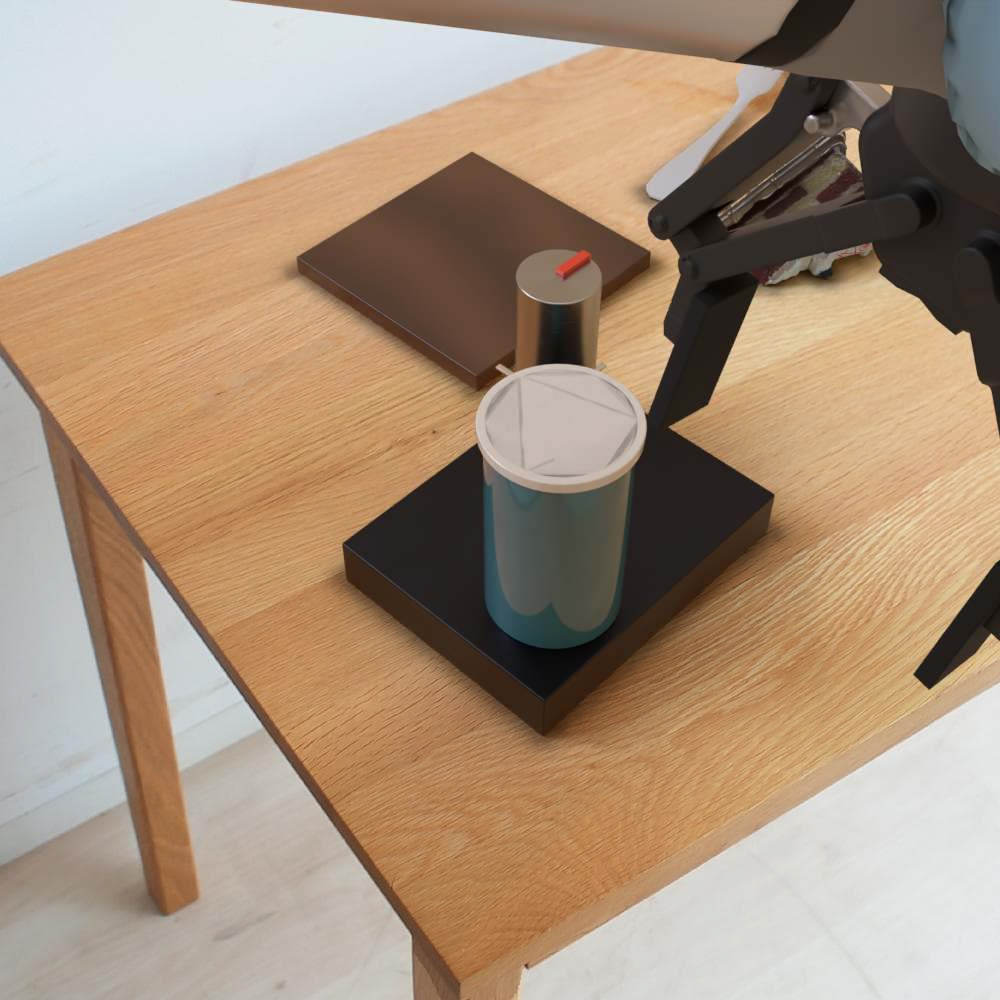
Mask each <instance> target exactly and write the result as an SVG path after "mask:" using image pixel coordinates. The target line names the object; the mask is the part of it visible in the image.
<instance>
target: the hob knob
mask: <svg viewBox="0 0 1000 1000" xmlns="http://www.w3.org/2000/svg"><path fill="white" fill-rule="evenodd" d="M601 288H602V274H601V271H600V269H599V267H598V266H597V264H596V263H595V262H594V261H593V260H591V254H589V253H588V252H586V251H584V250H582V251H581V252H579V253H578V252H574V251H570V250H562V249H554V250H546V251H541V252H538V253H535V254H533V255H531V256H529V257H528V258H526V259H525V260H524V261H523V262H522V263H521V264H520V266H519V267H518V269H517V272H516V300H515V363H514V373H515V372H518V371H520V370H523V369H526V368H530V367H534V366H540V365H546V364H570V365H578V366H583V367H588V368H591V369H594V370H596V366H597V359H598V357H597V356H598V345H599V343H598V342H599V330H600V318H601V317H600V316H601V302H602V301H601Z"/></svg>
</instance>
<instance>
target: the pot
mask: <svg viewBox="0 0 1000 1000" xmlns="http://www.w3.org/2000/svg"><path fill="white" fill-rule="evenodd" d="M644 412H645V411H644V408H643V406H642V404H641V402H640V401H639V399H638V397H637V396H636V395H635V394H634V393H633V392H632V390H630V388H629V387H627V385H625V384H624V383H623V382H621V381H619V380H618V379H617V378H615V377H612V376H611V375H609V374H607V373H605V372H603V371H598V370H594V369H591V368H588V367H583V366H578V365H570V364H546V365H540V366H534V367H530V368H526V369H523V370H520V371H518V372H515V371H514V373H513V374H511V375H509V376H505V377H504V378H502V379H501V380H499V381H498V382H497V383H495V384H494V385H493V386H491V388H490V389H488V391H487V392H486V394H485V395H484V397H483V398H482V399H481V401H480V403H479V405H478V407H477V411H476V415H475V424H474V425H475V437H476V443H478V446H479V449H480V451H481V453H482V455H483V533H484V598H485V603H486V607H487V610H488V612H489V614H490V616H491V617H492V619H493V620H494V622H495V623H496V624H497V625H498V626H499V627H500V628H501V629H502V630H503V631H504V632H505V633H506V634H508V635H509V636H511V637H512V638H514V639H516V640H518V641H520V642H522V643H525V644H528V645H531V646H535V647H539V648H546V649H564V648H570V647H575V646H579V645H582V644H585V643H587V642H589V641H591V640H593V639H595V638H597V637H598V636H600V635H601V634H602V633H603V632H605V631H606V630H607V629H608V628H609V627H610V626H611V624H612V623H613V622H614V620H615V619H616V617H617V615H618V613H619V610H620V607H621V602H622V594H623V585H624V575H625V566H626V556H627V547H628V537H629V527H630V518H631V508H632V499H633V489H634V480H635V470H636V462H637V460H638V459H639V457H640V455H641V453H642V451H643V448H644V445H645V440H646V432H647V421H646V417H645V413H646V412H645V413H644Z"/></svg>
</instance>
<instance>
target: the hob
mask: <svg viewBox="0 0 1000 1000" xmlns="http://www.w3.org/2000/svg"><path fill="white" fill-rule="evenodd" d="M607 366H608V365H607V364H606V363H604V361H601V362H600V363H599V364H598V365H597V364H596V370H598V371H600V372H603V370H605V369H606V368H607ZM496 369H497V370H499V371H500V372H502V373H501V374H503V375H505V377H507V376H509V375H511V374H513V373H515V371H513V370H511V369H509V368H506V367H504V366H503V365H501V364H499V365H497V366H496ZM644 413H645V417H646V418H647V415H648V413H647V412H646V411H644ZM646 421H647V420H646ZM775 498H776V494H775V493H773V492H772V491H770V490H769V489H767V488H765V487H764V486H762V485H761V484H759V483H758V482H756V481H754V480H753V479H752V478H750V477H748V476H747V475H745V474H743V473H741V472H740V471H739V470H737V469H736V468H735V467H732V466H730V465H729V464H728V463H726V462H724V461H723V460H721V459H719V458H718V457H716V456H715V455H713V454H712V453H710V452H708V451H707V450H705V449H704V448H702V447H700V446H699V445H697V444H695V443H694V442H693V441H691V440H689V439H688V438H686V437H684V436H683V435H681V434H680V433H678V432H677V431H675V430H673V429H672V428H670V427H668V428H666V429H664V430H662V431H661V432H659V431H658V430H657V429H656V428H654V427H653V426H652V425H651V424H650V423H649V422H648V421H647V432H646V440H645V445H644V448H643V451H642V453H641V455H640V457H639V459H638V460H637V462H636V470H635V480H634V489H633V499H632V508H631V518H630V527H629V537H628V547H627V556H626V566H625V575H624V585H623V594H622V602H621V607H620V610H619V613H618V615H617V617H616V619H615V620H614V622H613V623H612V624H611V626H610V627H609V628H608V629H607V630H606V631H605V632H603V633H602V634H601V635H600V636H598V637H597V638H595V639H593V640H591V641H589V642H587V643H585V644H582V645H579V646H575V647H570V648H564V649H546V648H539V647H535V646H531V645H528V644H525V643H522V642H520V641H518V640H516V639H514V638H512V637H511V636H509V635H508V634H506V633H505V632H504V631H503V630H502V629H501V628H500V627H499V626H498V625H497V624H496V623H495V622H494V620H493V619H492V617H491V616H490V614H489V612H488V610H487V607H486V603H485V598H484V533H483V455H482V453H481V451H480V449H479V446H478V443H477V442H476V443H475V444H474V445H472V446H471V447H469V448H467V450H465V451H464V452H462V453H461V454H460V455H459V456H457V457H456V458H455V459H453V460H452V461H451V462H449V463H448V464H447V465H445V466H444V467H443V468H441V469H439V471H437V472H436V473H435V474H433V475H431V476H430V477H429V478H427V480H425V481H424V482H422V483H421V484H419V486H417V487H416V488H414V489H413V490H412V491H410V492H409V493H408V494H406V495H405V496H403V497H402V498H401V499H399V500H398V501H397V502H396V503H394V504H393V505H392V506H390V507H389V508H387V509H386V510H385V511H383V512H382V513H380V514H379V515H378V516H377V517H375V518H374V519H373V520H371V521H369V522H368V524H365V526H363V527H361V528H360V529H359V530H358V531H357V532H355V533H354V534H353V535H351V536H350V537H349V538H347V539H346V540H345V541H343V542H342V544H341V546H342V556H343V561H344V562H343V563H344V571H345V580H346V581H347V582H348V583H350V584H351V585H352V586H353V587H354V588H355V589H357V590H358V591H360V592H361V593H362V594H364V595H365V596H366V597H367V598H368V599H370V600H371V601H372V602H374V603H375V604H376V605H377V606H379V607H380V608H381V609H382V610H384V611H385V612H386V613H387V614H388V615H390V616H391V617H392V618H394V620H396V621H398V622H399V623H400V624H401V625H403V626H404V627H405V628H406V629H407V630H409V631H410V632H412V633H413V634H414V635H415V636H416V637H418V639H420V640H421V641H422V642H424V643H425V644H426V645H428V646H429V647H430V648H431V649H432V650H434V652H436V653H438V654H439V655H440V656H442V657H443V658H444V659H445V660H446V661H447V662H449V663H450V664H452V666H454V667H455V668H456V669H458V670H459V671H460V672H462V673H463V674H464V675H465V676H466V677H467V678H469V679H470V680H471V681H472V682H474V683H475V684H476V685H477V686H479V687H480V688H482V689H483V690H484V691H485V692H487V694H489V695H490V696H492V697H493V698H494V699H495V700H497V701H498V702H499V703H500V704H502V705H503V706H504V707H505V708H507V709H508V710H509V711H510V712H511V713H513V714H514V715H515V716H517V717H518V718H519V719H521V720H522V721H523V722H524V723H525V724H527V725H528V726H529V727H531V728H532V729H533V730H534V731H535V732H537V733H538V734H539V735H541V736H542V737H544V736H546V734H547V733H548V732H550V731H551V730H552V729H553V728H554V727H555V726H556V725H557V724H559V723H560V722H561V721H562V720H563V719H564V718H565V717H566V716H567V715H568V714H570V712H571V711H573V710H574V709H575V708H576V707H577V706H578V705H579V704H580V703H581V702H583V701H584V699H586V698H587V697H588V696H589V695H590V694H591V693H593V691H595V690H596V689H597V688H598V687H599V686H600V685H602V683H603V682H604V681H605V680H607V679H608V678H609V677H610V676H611V675H612V674H613V673H615V671H617V670H618V669H619V668H620V667H621V666H622V665H623V664H624V663H625V662H626V661H627V660H628V659H630V658H631V657H632V656H633V655H634V654H635V653H636V652H637V651H638V650H639V649H640V648H641V647H643V646H644V645H645V644H646V643H647V642H648V641H649V640H650V639H651V638H652V637H654V636H655V635H656V634H657V633H658V632H659V631H660V630H661V629H662V628H664V626H665V625H667V624H668V623H669V622H670V621H671V620H673V618H674V617H675V616H676V615H678V614H679V613H680V612H681V611H682V610H683V609H684V608H686V607H687V605H688V604H690V602H691V601H693V600H694V599H695V598H696V597H697V596H699V594H701V592H703V591H704V590H705V589H706V588H707V587H708V586H709V585H710V584H711V583H713V582H714V580H716V579H717V578H718V577H719V576H721V574H723V572H724V571H726V569H728V568H729V567H730V566H731V565H732V564H734V563H735V562H736V561H737V559H739V558H740V557H741V556H742V555H743V554H744V553H745V552H746V551H748V549H750V548H751V547H752V546H753V545H754V544H755V543H756V542H757V541H759V540H760V538H762V537H763V536H764V535H765V534H766V533H767V532H768V530H769V525H770V520H771V516H772V512H773V507H774V501H775Z"/></svg>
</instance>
